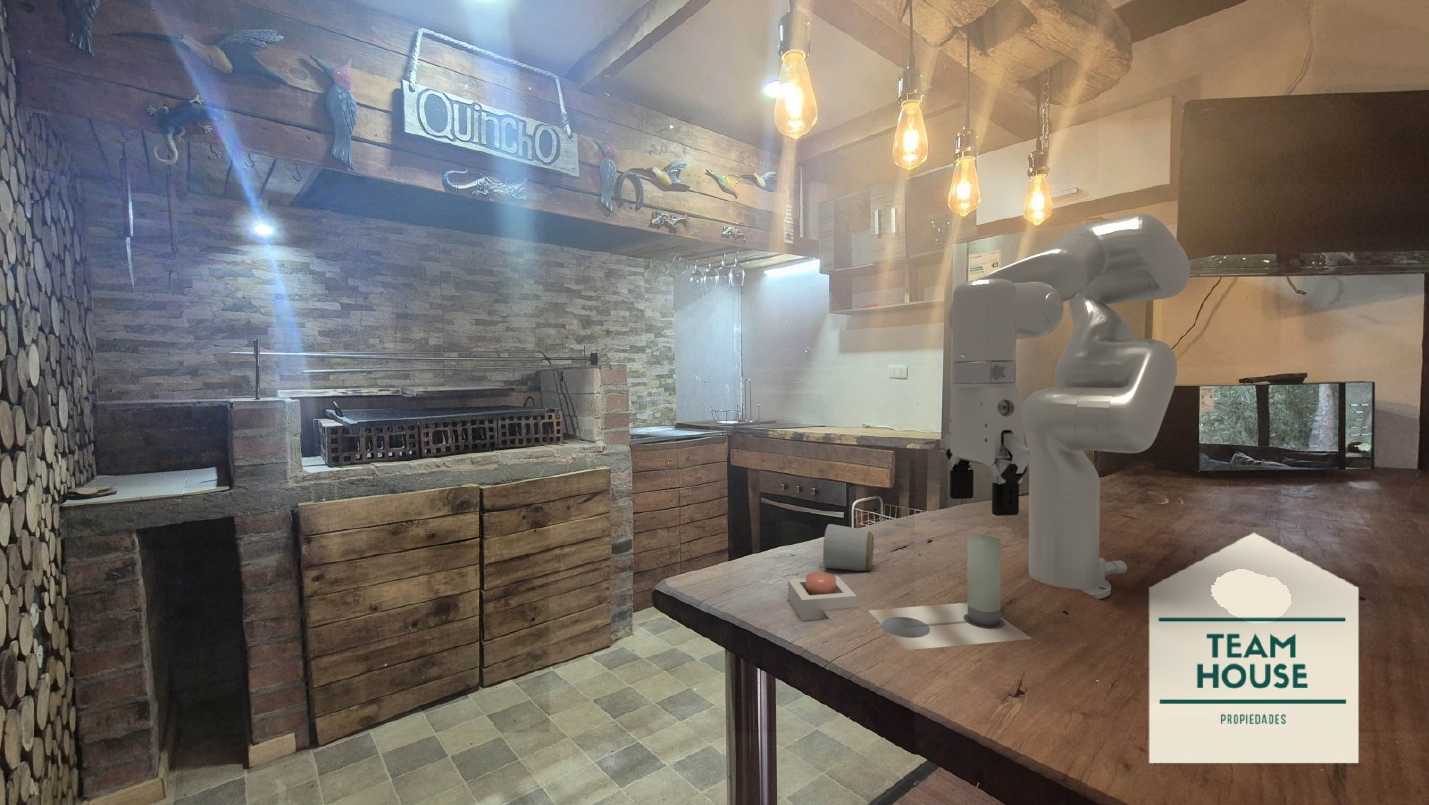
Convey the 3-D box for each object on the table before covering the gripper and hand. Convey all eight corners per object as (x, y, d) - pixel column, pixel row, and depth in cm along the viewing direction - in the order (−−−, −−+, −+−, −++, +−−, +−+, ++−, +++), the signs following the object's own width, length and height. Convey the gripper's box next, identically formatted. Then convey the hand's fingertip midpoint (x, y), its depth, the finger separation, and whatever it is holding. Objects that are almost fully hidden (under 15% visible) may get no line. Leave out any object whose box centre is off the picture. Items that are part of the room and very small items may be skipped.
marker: (988, 612, 78) (988, 534, 78) (1007, 625, 74) (1007, 542, 74) (961, 615, 78) (961, 536, 77) (978, 628, 74) (978, 544, 73)
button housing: (838, 594, 89) (837, 576, 89) (856, 616, 81) (856, 595, 81) (788, 598, 88) (788, 579, 88) (802, 620, 80) (802, 600, 80)
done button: (830, 584, 87) (830, 571, 87) (840, 595, 83) (840, 581, 82) (802, 586, 86) (802, 573, 86) (810, 597, 82) (810, 584, 82)
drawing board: (980, 608, 83) (980, 599, 83) (1041, 651, 70) (1041, 640, 70) (861, 617, 81) (861, 608, 81) (902, 664, 68) (902, 653, 68)
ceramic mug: (871, 578, 96) (870, 533, 96) (822, 573, 99) (822, 529, 98) (875, 559, 106) (875, 518, 106) (831, 555, 109) (831, 515, 108)
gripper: (1057, 375, 66) (1055, 521, 67) (972, 376, 83) (971, 492, 84) (997, 376, 65) (995, 524, 66) (923, 376, 82) (923, 493, 83)
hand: (982, 506), depth 75 cm, fingers open, 9 cm apart
